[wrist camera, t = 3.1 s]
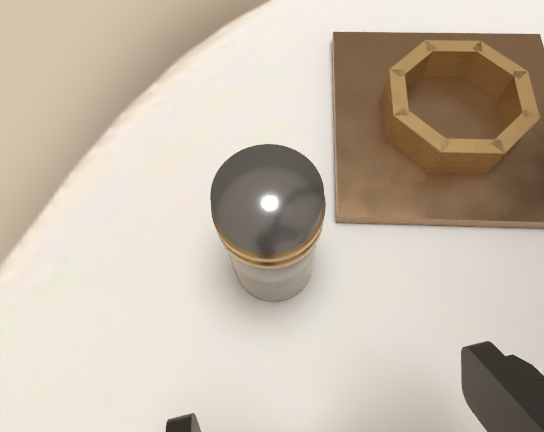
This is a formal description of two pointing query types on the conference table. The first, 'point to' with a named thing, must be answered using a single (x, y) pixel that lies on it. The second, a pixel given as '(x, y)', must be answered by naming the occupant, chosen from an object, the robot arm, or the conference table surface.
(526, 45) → the octagon frame base plate
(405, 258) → the conference table surface
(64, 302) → the conference table surface
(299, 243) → the cylinder
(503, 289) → the conference table surface
